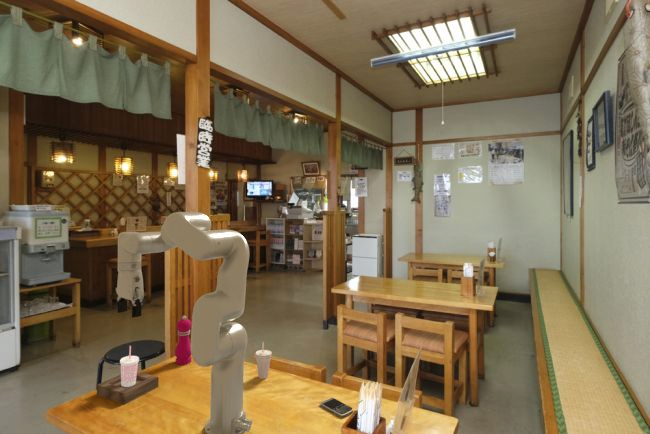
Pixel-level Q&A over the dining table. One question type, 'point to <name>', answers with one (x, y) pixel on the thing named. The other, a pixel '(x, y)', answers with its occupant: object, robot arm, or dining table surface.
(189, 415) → the dining table surface
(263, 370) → the smoothie
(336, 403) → the cell phone
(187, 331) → the pepper mill
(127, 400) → the walnut tray
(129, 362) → the beverage cup
